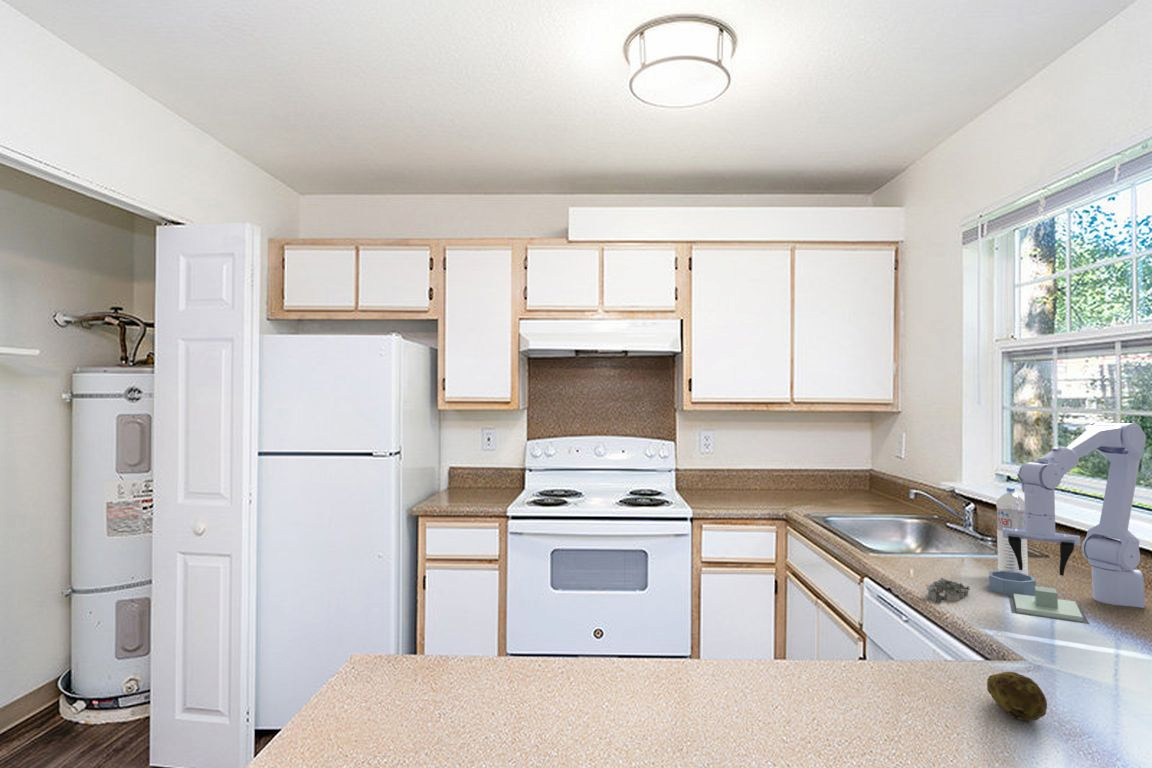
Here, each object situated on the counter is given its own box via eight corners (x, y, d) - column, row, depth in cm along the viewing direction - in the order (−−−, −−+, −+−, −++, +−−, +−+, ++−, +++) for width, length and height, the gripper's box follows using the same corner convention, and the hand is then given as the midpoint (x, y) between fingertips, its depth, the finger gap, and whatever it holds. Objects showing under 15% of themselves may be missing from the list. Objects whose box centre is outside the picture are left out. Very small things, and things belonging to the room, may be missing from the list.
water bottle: (1033, 581, 169) (1030, 489, 169) (1005, 580, 170) (1002, 489, 171) (1020, 574, 176) (1018, 486, 176) (993, 573, 177) (991, 485, 177)
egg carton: (955, 607, 151) (955, 590, 151) (923, 599, 157) (922, 583, 157) (973, 597, 157) (973, 581, 157) (941, 590, 163) (941, 575, 163)
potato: (1050, 710, 101) (1048, 660, 102) (1046, 745, 91) (1045, 690, 92) (989, 695, 107) (988, 648, 107) (980, 726, 97) (978, 675, 97)
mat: (1080, 608, 148) (1079, 605, 148) (1089, 627, 136) (1089, 623, 136) (1008, 598, 155) (1008, 595, 155) (1011, 616, 144) (1011, 612, 144)
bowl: (1033, 591, 161) (1033, 574, 162) (1037, 602, 153) (1036, 584, 153) (988, 585, 167) (988, 568, 167) (989, 595, 158) (989, 578, 158)
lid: (1075, 605, 148) (1074, 586, 148) (1082, 621, 137) (1082, 601, 138) (1013, 597, 154) (1013, 579, 154) (1016, 612, 144) (1016, 592, 144)
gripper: (1001, 513, 147) (1002, 570, 147) (1080, 520, 139) (1081, 581, 138) (1003, 508, 153) (1004, 564, 153) (1078, 515, 144) (1079, 573, 144)
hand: (1040, 571), depth 146 cm, fingers open, 7 cm apart
